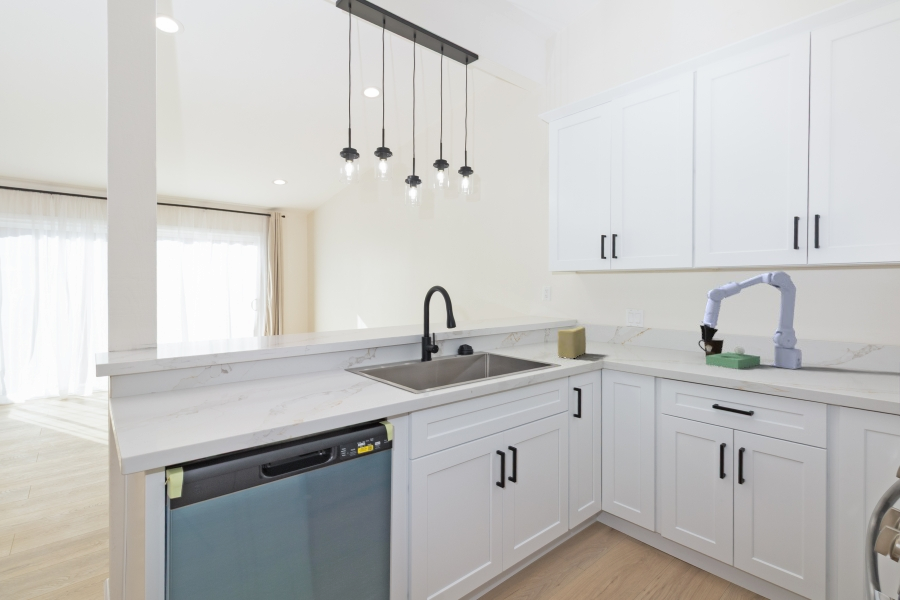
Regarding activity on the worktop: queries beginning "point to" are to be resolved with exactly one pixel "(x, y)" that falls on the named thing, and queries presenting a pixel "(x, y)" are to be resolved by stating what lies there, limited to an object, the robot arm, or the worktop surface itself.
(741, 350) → the ball
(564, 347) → the cheese
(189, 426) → the worktop surface
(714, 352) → the coffee mug
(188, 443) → the worktop surface
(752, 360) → the practice green
